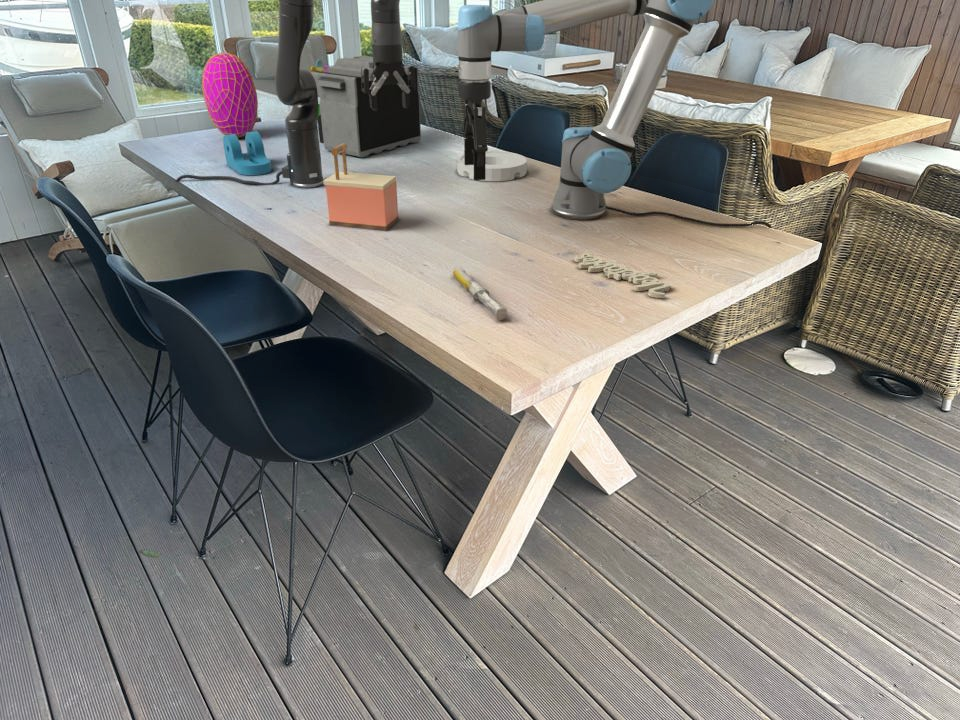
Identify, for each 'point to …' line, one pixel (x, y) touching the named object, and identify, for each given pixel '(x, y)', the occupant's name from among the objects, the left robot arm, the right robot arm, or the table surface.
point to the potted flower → (319, 68)
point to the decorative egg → (230, 94)
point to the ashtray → (497, 166)
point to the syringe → (479, 293)
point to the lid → (355, 175)
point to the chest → (362, 207)
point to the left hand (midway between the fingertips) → (390, 109)
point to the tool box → (364, 110)
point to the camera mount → (246, 154)
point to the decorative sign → (625, 274)
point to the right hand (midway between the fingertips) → (474, 172)
